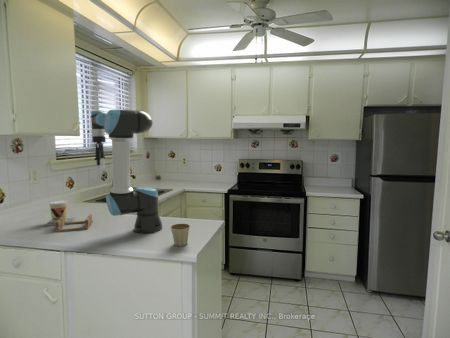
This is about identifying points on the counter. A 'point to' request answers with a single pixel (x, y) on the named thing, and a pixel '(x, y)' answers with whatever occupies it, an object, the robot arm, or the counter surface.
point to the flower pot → (180, 234)
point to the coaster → (55, 224)
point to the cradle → (61, 223)
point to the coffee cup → (58, 210)
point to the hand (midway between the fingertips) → (100, 169)
